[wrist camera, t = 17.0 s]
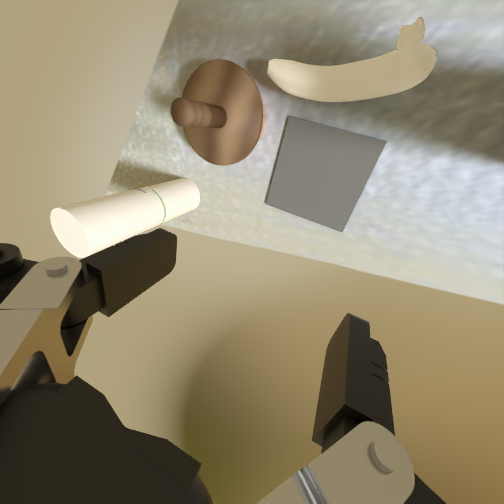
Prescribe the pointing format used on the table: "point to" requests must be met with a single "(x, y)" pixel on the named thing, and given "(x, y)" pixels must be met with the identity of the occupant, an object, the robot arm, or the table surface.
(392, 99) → the table surface
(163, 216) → the cylindrical container
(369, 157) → the rubber mat
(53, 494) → the robot arm
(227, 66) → the walnut lid
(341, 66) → the banana
